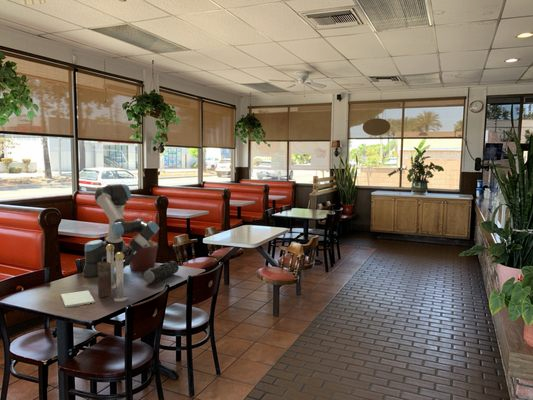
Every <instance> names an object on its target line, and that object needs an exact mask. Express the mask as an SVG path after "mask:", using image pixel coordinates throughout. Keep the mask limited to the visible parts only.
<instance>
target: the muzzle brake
mask: <svg viewBox="0 0 533 400" xmlns="http://www.w3.org/2000/svg"><path fill="white" fill-rule="evenodd" d="M178 271H179V264H178V262H176V261H175V260H170V261H168V262H164V263H162V264H160V265H157V266H154V268H150V269H148V270H146V271H145V272H143V274H142V275H143V281H144V282H145V283H147V284H156V283H158V282H159V281H160V280H163V279H166V278H170V277H171V276H174V275H175V274H176V273H177V272H178Z"/></svg>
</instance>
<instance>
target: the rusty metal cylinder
mask: <svg viewBox="0 0 533 400" xmlns="http://www.w3.org/2000/svg"><path fill="white" fill-rule="evenodd" d="M97 294H98V298H104V297H108V296H111V294H112V290H111V263H109V262H107V261H103V262H98V277H97Z"/></svg>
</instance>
